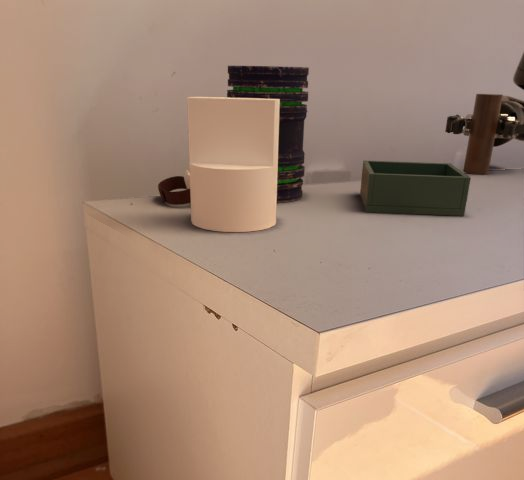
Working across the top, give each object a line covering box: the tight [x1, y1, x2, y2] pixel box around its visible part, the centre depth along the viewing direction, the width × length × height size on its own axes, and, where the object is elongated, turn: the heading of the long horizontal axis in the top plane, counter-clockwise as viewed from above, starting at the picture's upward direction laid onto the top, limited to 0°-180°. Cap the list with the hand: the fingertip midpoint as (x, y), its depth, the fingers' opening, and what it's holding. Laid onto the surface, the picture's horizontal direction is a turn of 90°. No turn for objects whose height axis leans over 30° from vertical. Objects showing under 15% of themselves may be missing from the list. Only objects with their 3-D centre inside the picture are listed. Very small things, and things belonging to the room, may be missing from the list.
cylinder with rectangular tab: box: [186, 96, 280, 233], centre depth 58 cm, size 9×9×12 cm
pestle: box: [462, 93, 504, 175], centre depth 93 cm, size 4×4×12 cm
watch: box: [157, 169, 191, 206], centre depth 68 cm, size 8×5×4 cm, turn 27°
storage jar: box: [226, 65, 310, 204], centre depth 71 cm, size 10×10×15 cm
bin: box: [359, 159, 472, 217], centre depth 70 cm, size 11×11×4 cm
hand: (480, 128), depth 91 cm, fingers open, 7 cm apart
